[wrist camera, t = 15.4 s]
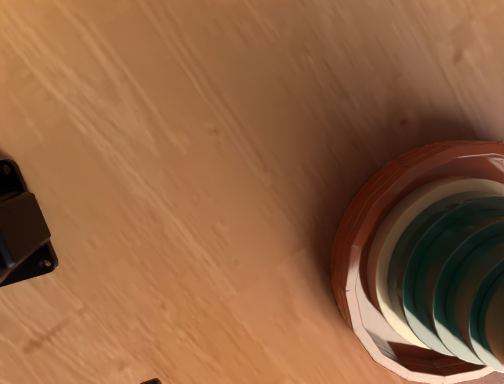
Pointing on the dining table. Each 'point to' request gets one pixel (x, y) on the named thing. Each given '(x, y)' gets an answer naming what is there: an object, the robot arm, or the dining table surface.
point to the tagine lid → (444, 269)
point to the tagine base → (361, 237)
